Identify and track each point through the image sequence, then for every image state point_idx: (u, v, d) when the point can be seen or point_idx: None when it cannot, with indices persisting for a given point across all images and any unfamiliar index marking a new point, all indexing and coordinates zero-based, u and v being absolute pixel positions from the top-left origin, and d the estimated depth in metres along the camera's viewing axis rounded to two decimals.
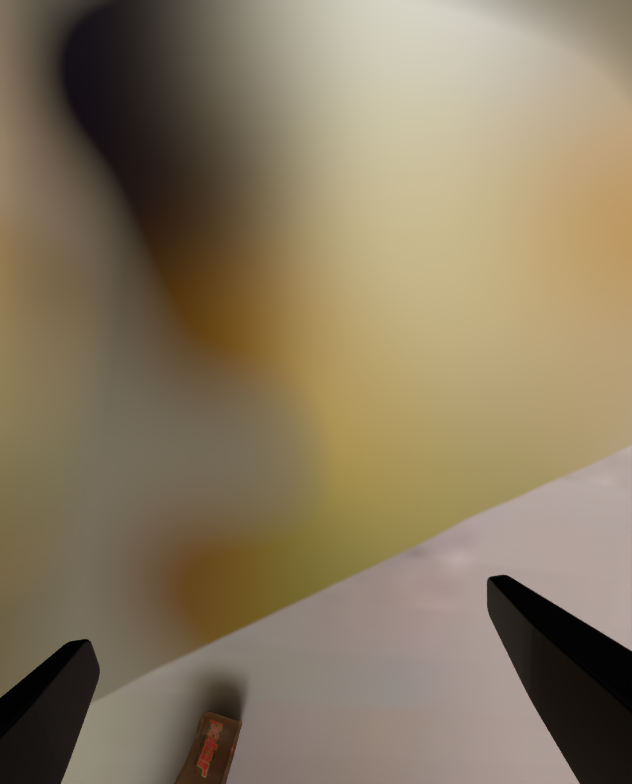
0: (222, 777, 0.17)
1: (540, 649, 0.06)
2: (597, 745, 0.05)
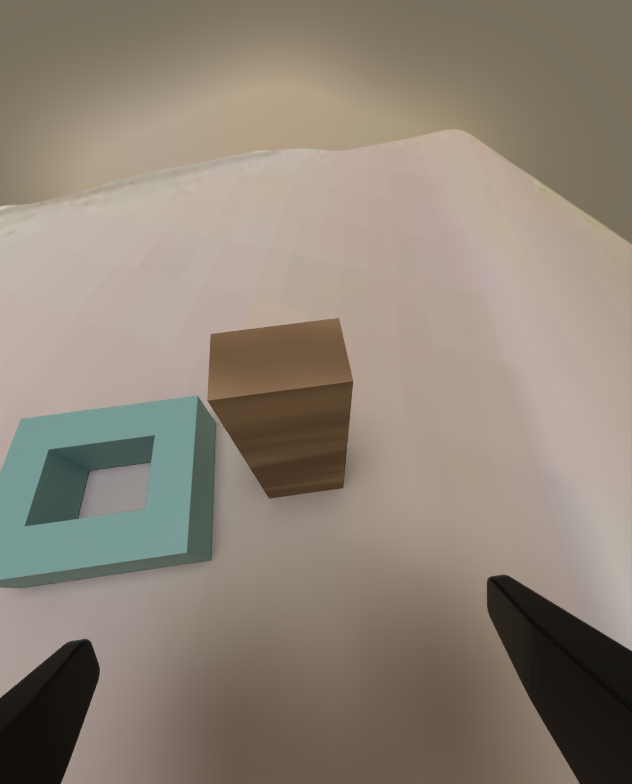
0: None
1: (540, 649, 0.06)
2: (597, 745, 0.05)
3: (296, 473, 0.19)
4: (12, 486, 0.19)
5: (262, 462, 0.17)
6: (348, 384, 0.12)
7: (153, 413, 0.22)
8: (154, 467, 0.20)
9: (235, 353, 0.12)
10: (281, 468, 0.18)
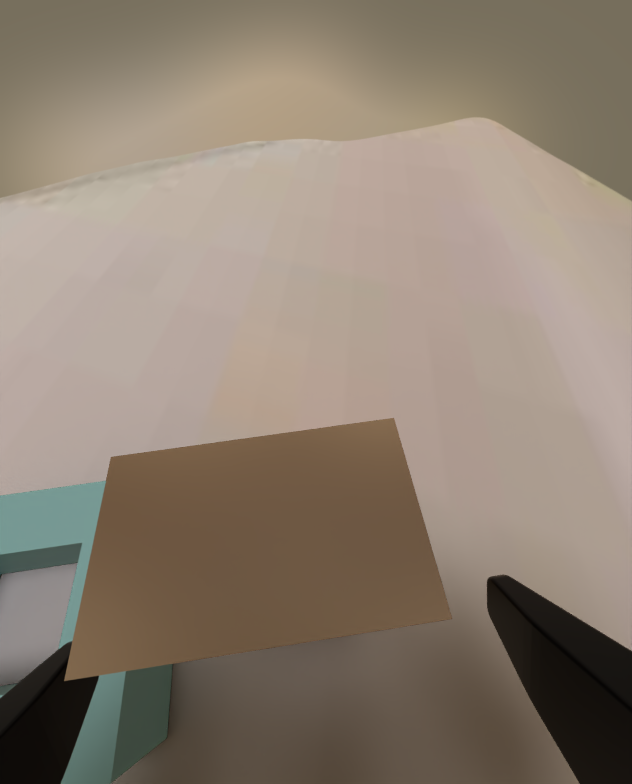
0: None
1: (540, 649, 0.06)
2: (597, 745, 0.05)
3: None
4: None
5: None
6: (437, 619, 0.05)
7: (84, 504, 0.14)
8: (74, 604, 0.12)
9: (158, 514, 0.05)
10: None
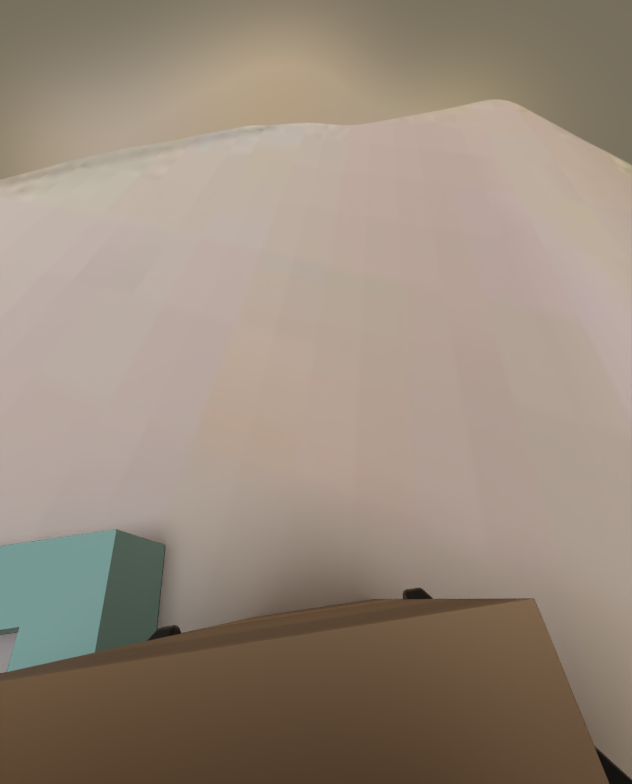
0: None
1: None
2: None
3: None
4: None
5: None
6: None
7: (26, 570, 0.11)
8: None
9: None
10: None
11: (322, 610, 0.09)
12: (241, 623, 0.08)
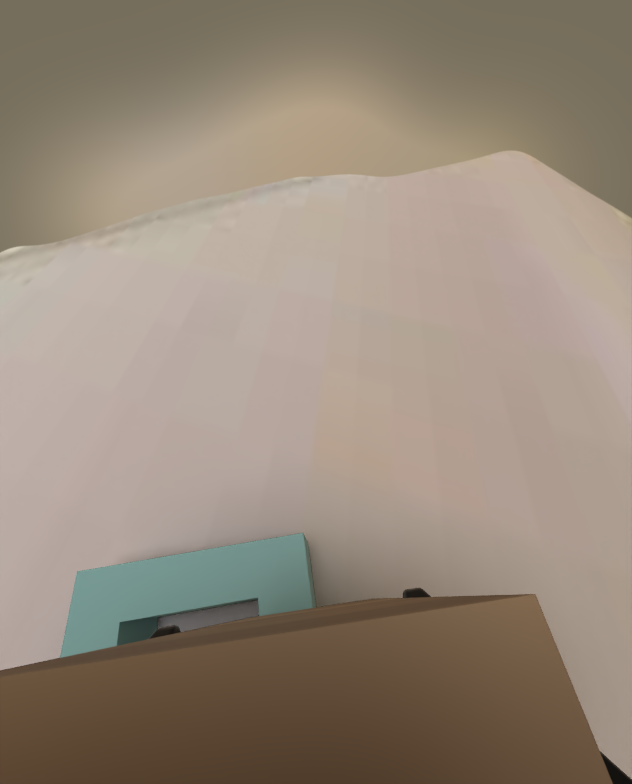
0: None
1: None
2: None
3: None
4: None
5: None
6: None
7: (250, 561, 0.17)
8: None
9: None
10: None
11: (323, 609, 0.09)
12: (242, 622, 0.08)
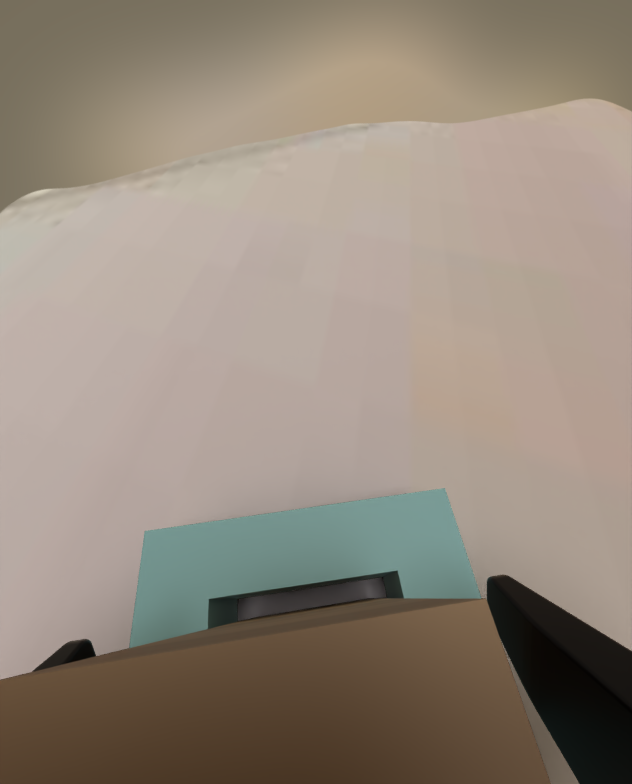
0: None
1: (540, 649, 0.06)
2: (597, 745, 0.05)
3: None
4: None
5: None
6: None
7: (379, 523, 0.12)
8: None
9: None
10: None
11: (323, 609, 0.09)
12: (249, 622, 0.09)
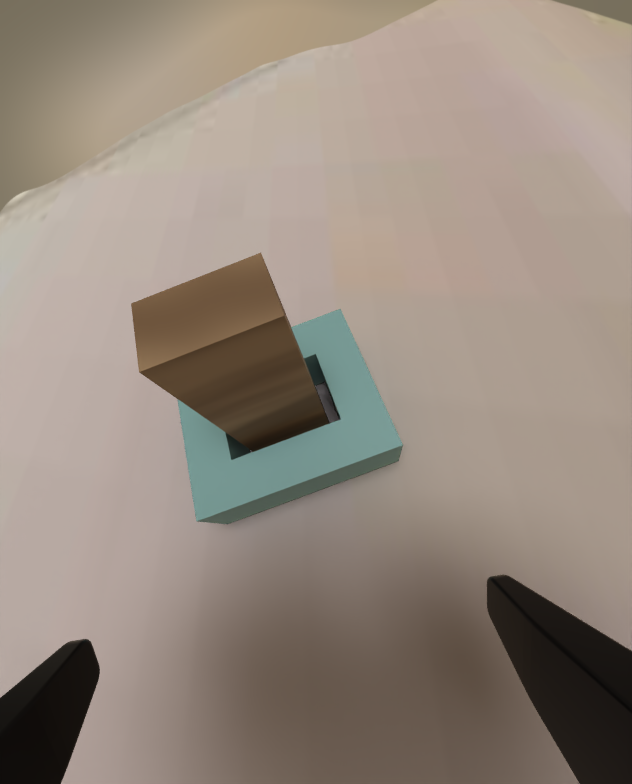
0: None
1: (540, 649, 0.06)
2: (597, 745, 0.05)
3: (277, 428, 0.19)
4: (199, 430, 0.20)
5: (235, 424, 0.16)
6: (281, 320, 0.11)
7: (303, 335, 0.21)
8: (331, 382, 0.19)
9: (159, 317, 0.12)
10: (258, 425, 0.18)
11: None
12: None
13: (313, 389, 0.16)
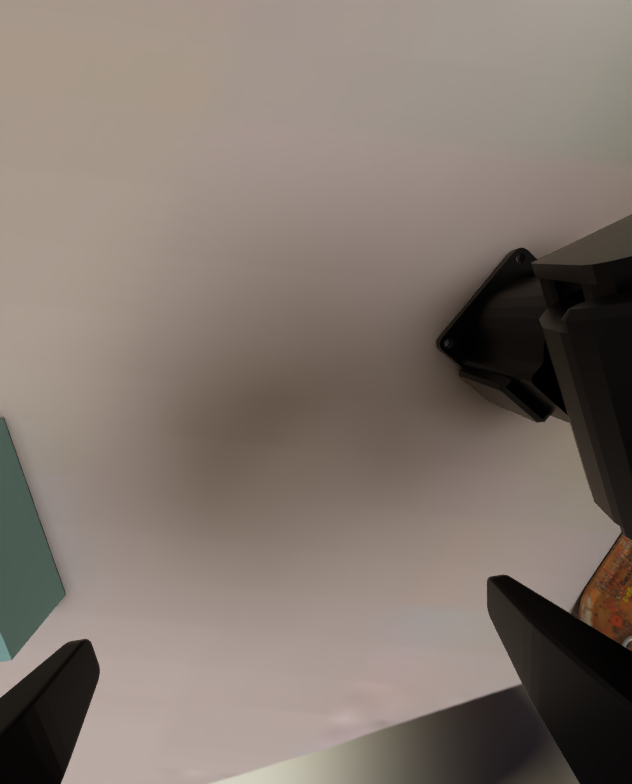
0: None
1: (540, 649, 0.06)
2: (597, 745, 0.05)
3: None
4: None
5: None
6: None
7: None
8: None
9: None
10: None
11: None
12: None
13: None
